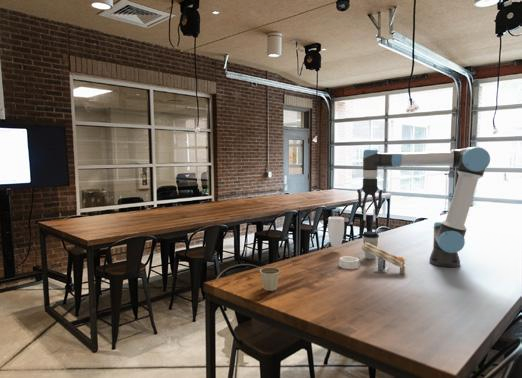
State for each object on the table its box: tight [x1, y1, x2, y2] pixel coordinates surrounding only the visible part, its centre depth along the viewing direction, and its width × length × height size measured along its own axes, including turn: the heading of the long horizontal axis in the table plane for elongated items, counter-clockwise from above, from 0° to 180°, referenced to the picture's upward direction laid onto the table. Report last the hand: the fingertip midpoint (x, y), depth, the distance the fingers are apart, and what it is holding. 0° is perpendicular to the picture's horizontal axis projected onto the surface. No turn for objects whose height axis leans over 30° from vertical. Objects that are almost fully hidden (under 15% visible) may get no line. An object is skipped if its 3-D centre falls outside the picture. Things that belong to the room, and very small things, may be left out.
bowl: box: [338, 255, 360, 270], centre depth 198 cm, size 10×10×4 cm
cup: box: [327, 216, 345, 249], centre depth 227 cm, size 10×10×22 cm
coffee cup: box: [361, 231, 380, 260], centre depth 213 cm, size 9×9×15 cm
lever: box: [360, 242, 407, 268], centre depth 192 cm, size 22×13×3 cm, turn 62°
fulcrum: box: [373, 257, 406, 276], centre depth 188 cm, size 14×11×7 cm
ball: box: [397, 256, 405, 262], centre depth 186 cm, size 4×4×4 cm
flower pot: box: [259, 266, 281, 292], centre depth 166 cm, size 9×9×9 cm
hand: (369, 220), depth 199 cm, fingers open, 4 cm apart
